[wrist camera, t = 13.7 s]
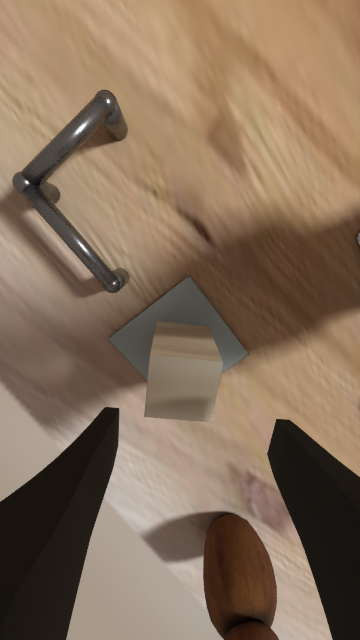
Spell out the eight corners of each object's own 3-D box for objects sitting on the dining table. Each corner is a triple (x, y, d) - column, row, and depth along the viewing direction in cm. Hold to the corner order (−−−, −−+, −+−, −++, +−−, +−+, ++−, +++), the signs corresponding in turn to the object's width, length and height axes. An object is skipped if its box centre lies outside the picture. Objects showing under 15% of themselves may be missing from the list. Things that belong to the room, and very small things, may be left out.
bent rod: (118, 113, 15) (103, 76, 12) (197, 225, 17) (203, 221, 14) (37, 192, 17) (2, 179, 13) (120, 288, 19) (109, 298, 15)
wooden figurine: (211, 499, 26) (260, 829, 11) (263, 509, 26) (373, 833, 12) (193, 543, 27) (214, 871, 13) (242, 551, 28) (313, 873, 14)
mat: (188, 275, 18) (189, 276, 18) (247, 352, 21) (249, 354, 20) (109, 337, 20) (107, 339, 19) (171, 404, 22) (171, 406, 21)
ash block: (156, 320, 19) (150, 354, 13) (208, 326, 19) (223, 362, 14) (152, 367, 20) (144, 416, 15) (200, 371, 21) (211, 422, 15)
